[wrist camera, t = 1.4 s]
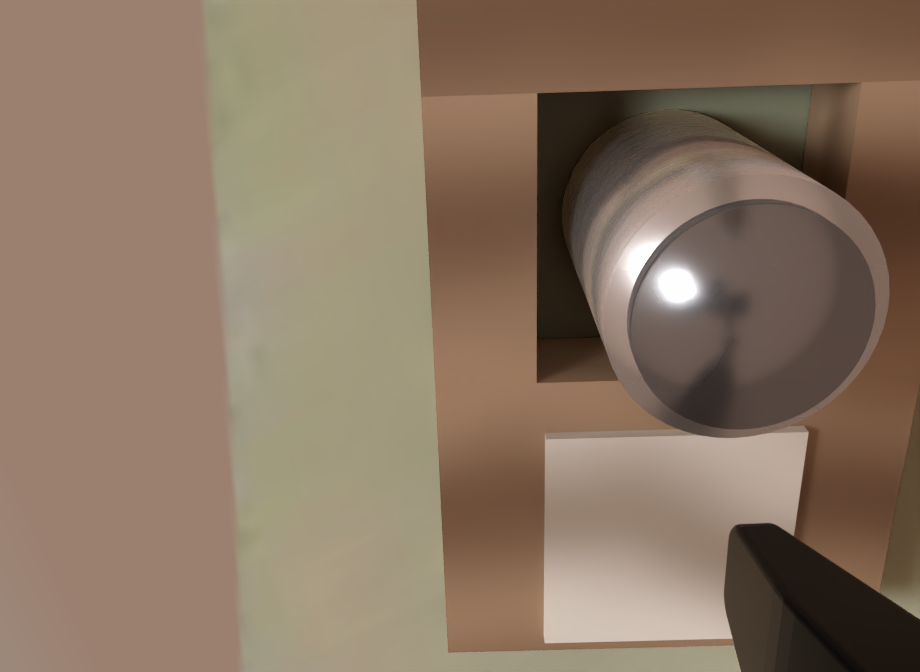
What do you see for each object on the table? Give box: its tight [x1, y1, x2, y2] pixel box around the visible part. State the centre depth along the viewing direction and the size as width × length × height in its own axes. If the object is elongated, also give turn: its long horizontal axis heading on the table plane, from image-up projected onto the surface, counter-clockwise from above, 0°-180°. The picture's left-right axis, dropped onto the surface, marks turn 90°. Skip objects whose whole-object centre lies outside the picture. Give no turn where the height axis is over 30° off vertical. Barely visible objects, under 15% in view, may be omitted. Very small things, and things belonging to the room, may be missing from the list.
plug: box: [562, 109, 890, 438], centre depth 18 cm, size 5×5×7 cm
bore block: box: [417, 0, 920, 652], centre depth 21 cm, size 16×11×3 cm
